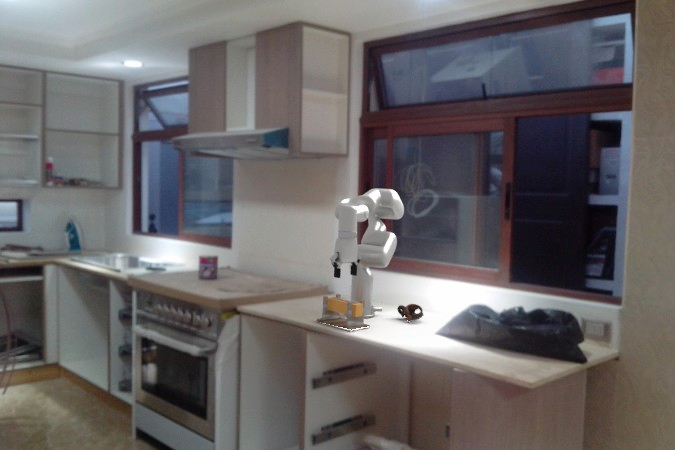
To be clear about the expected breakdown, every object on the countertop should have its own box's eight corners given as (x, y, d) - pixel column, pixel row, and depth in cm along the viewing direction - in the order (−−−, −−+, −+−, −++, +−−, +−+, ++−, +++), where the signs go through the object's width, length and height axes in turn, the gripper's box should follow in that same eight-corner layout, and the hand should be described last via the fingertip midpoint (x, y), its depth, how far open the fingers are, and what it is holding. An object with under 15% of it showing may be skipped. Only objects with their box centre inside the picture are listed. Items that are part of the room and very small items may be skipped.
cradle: (316, 321, 268) (317, 295, 267) (334, 318, 275) (336, 292, 274) (350, 331, 253) (352, 304, 253) (369, 328, 261) (370, 301, 260)
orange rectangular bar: (324, 309, 269) (325, 296, 269) (331, 307, 272) (331, 295, 271) (355, 317, 256) (356, 304, 256) (362, 316, 259) (363, 303, 259)
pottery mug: (424, 320, 283) (427, 306, 279) (416, 333, 276) (420, 319, 271) (399, 310, 287) (401, 296, 282) (391, 322, 280) (394, 308, 275)
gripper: (355, 233, 270) (353, 273, 272) (325, 235, 258) (323, 277, 260) (368, 235, 265) (366, 275, 267) (338, 237, 253) (337, 280, 254)
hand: (345, 276), depth 263 cm, fingers open, 9 cm apart
